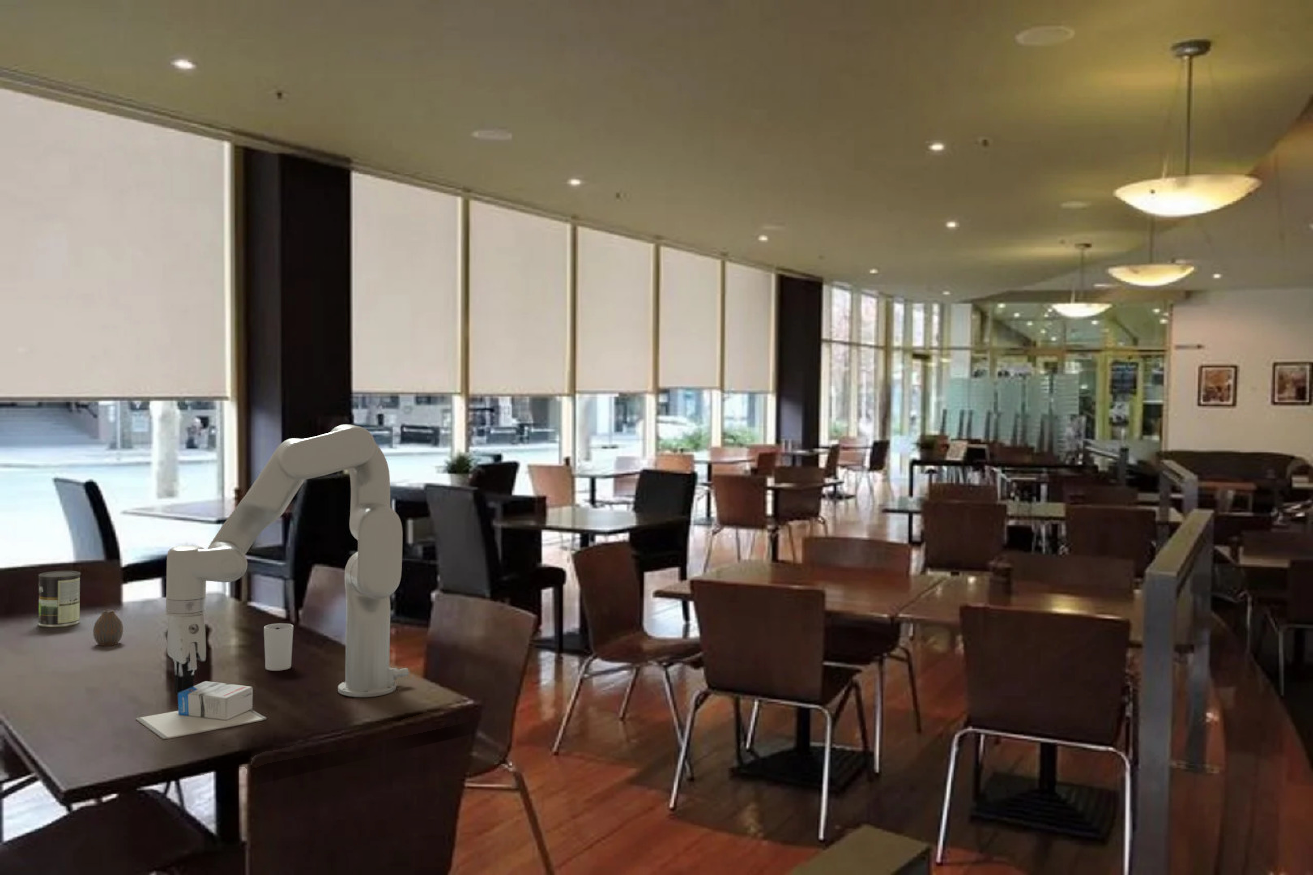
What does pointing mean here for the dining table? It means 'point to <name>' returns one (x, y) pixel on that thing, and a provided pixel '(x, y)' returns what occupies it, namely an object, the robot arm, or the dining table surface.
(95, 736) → the dining table surface
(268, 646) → the white cup
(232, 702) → the ink box
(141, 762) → the dining table surface
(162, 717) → the mat
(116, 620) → the vase
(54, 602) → the coffee can
